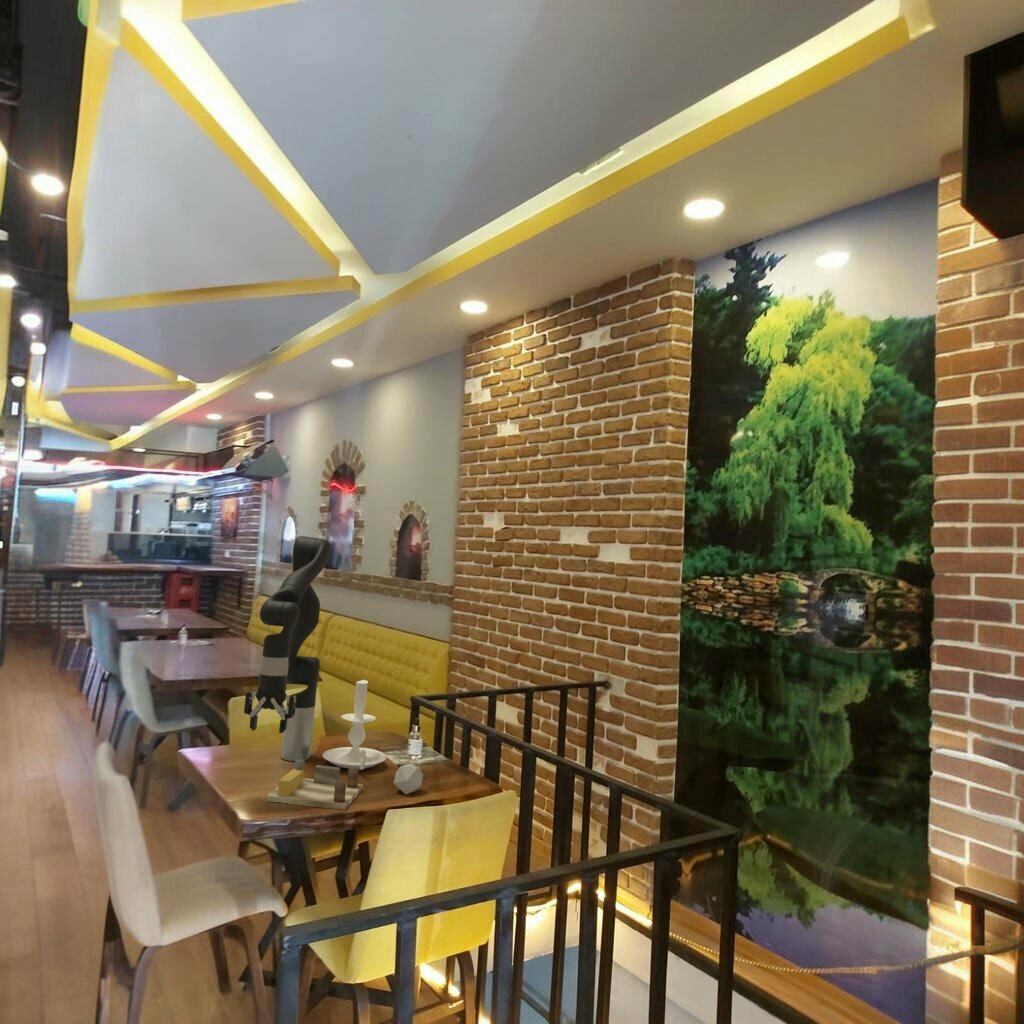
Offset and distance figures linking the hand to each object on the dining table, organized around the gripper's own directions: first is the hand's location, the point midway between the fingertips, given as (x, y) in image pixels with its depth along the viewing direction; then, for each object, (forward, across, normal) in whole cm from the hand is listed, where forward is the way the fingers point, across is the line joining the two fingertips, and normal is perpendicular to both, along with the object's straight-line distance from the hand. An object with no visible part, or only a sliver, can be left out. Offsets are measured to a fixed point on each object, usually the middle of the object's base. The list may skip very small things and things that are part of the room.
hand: (267, 731), depth 211 cm
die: (+18, -38, -18) cm, 46 cm away
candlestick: (+18, -17, -36) cm, 44 cm away
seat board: (+18, -14, -7) cm, 24 cm away
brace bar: (+17, -7, -5) cm, 19 cm away
